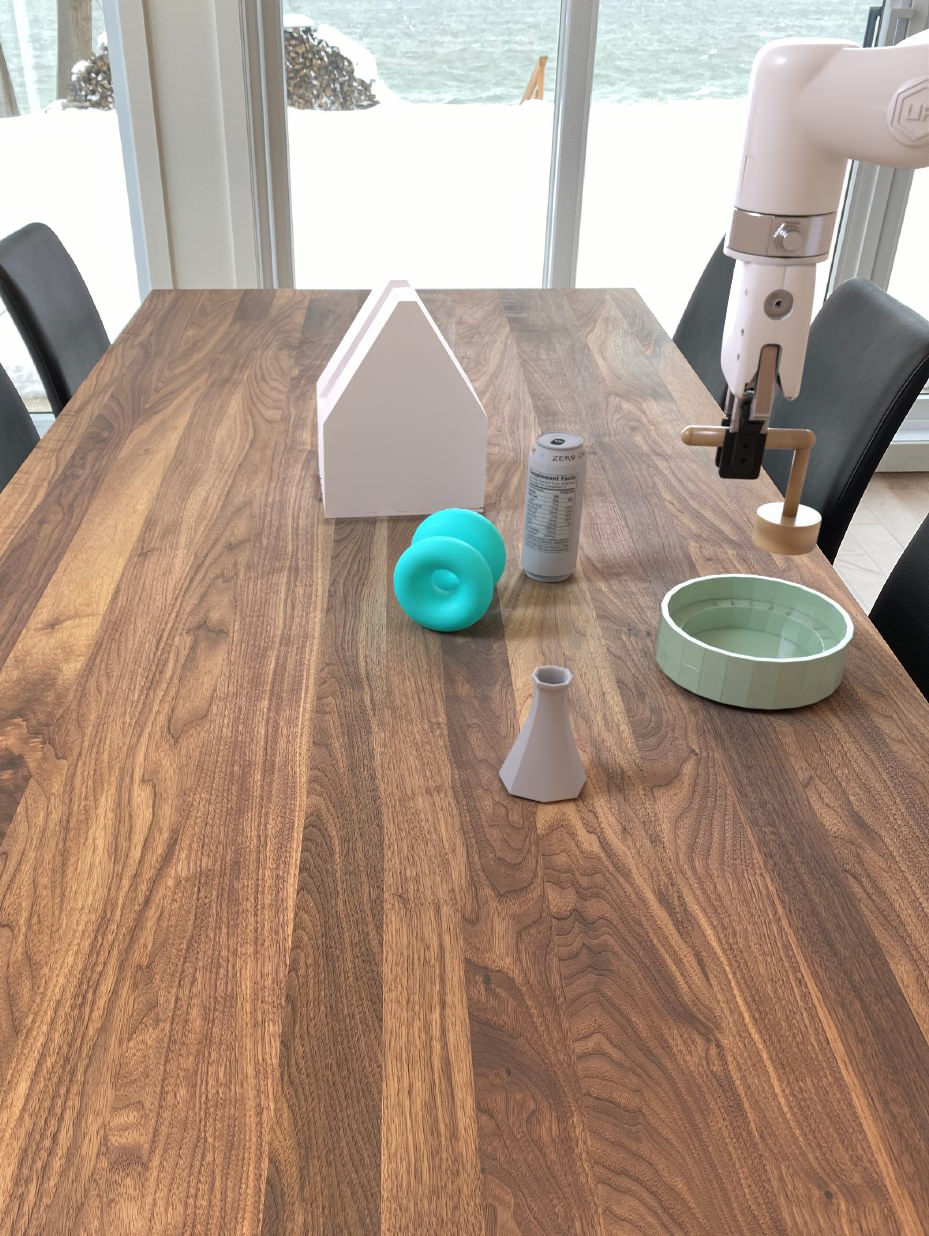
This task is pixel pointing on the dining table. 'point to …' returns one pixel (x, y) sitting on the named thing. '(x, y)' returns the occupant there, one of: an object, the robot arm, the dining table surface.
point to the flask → (546, 744)
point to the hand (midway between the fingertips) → (736, 471)
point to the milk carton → (398, 414)
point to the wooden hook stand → (787, 521)
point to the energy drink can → (553, 506)
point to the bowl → (753, 641)
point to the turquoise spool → (450, 570)
